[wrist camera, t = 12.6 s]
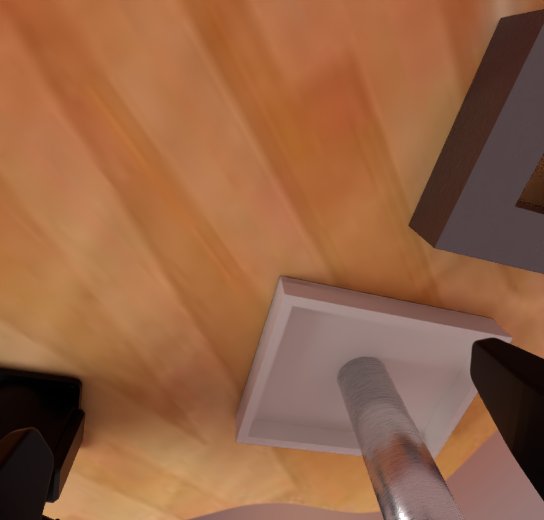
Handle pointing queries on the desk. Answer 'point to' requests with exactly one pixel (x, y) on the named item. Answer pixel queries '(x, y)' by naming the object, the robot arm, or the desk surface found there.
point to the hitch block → (493, 156)
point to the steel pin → (393, 446)
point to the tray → (345, 347)
